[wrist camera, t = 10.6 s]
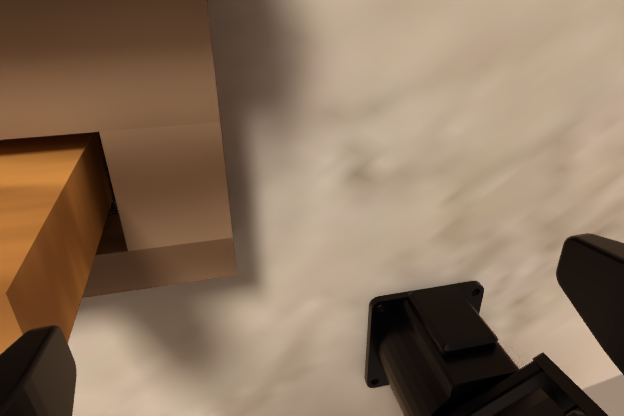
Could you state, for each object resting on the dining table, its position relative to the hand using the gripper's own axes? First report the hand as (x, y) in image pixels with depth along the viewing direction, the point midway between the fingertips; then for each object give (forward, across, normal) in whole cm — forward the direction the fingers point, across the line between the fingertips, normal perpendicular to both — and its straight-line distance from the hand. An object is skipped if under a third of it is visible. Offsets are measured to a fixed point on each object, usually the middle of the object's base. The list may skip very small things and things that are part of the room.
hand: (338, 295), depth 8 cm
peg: (+12, +8, +2) cm, 14 cm away
